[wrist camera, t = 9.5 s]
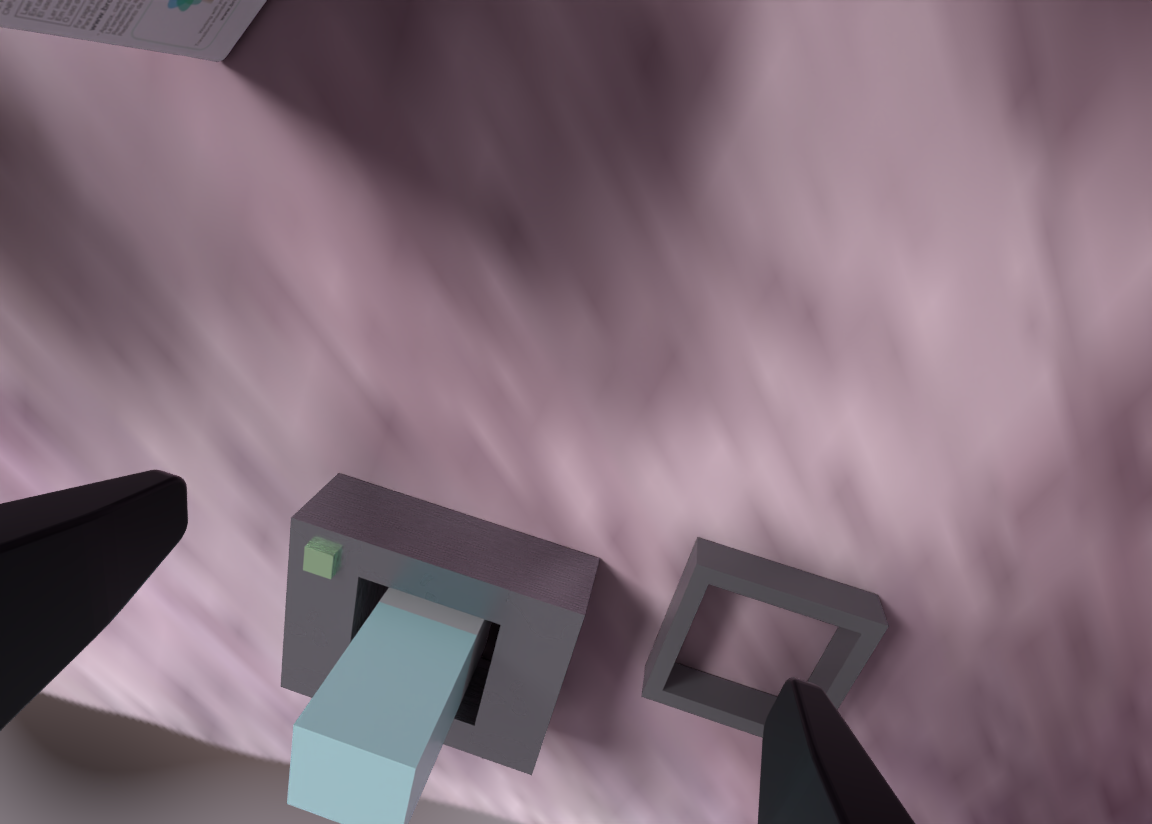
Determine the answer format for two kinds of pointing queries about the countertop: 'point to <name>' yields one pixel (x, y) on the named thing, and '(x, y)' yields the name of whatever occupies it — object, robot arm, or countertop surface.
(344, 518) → the socket
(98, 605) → the robot arm
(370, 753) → the plug
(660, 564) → the countertop surface
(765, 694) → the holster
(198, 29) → the ink cartridge box
